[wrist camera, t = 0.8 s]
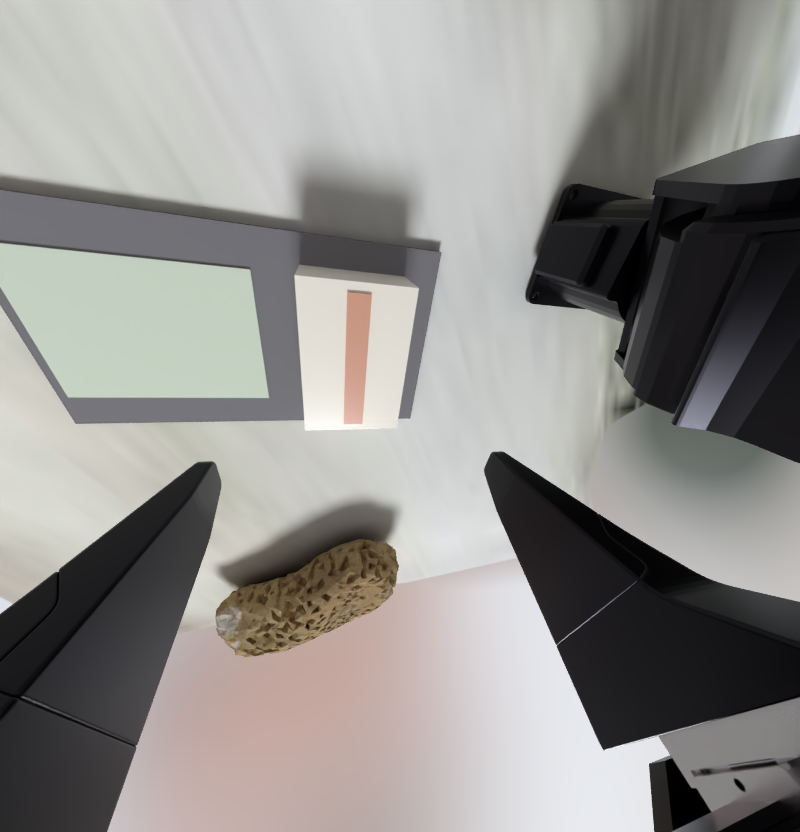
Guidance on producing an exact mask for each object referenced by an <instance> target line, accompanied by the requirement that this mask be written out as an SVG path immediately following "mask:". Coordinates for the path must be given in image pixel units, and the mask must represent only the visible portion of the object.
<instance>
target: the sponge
mask: <svg viewBox="0 0 800 832" xmlns="http://www.w3.org/2000/svg"><path fill="white" fill-rule="evenodd" d="M398 567H399V565H398V563H397V560H396V552H395V550H394V549H393V548H392V547H391V546H390V545H388V544H386V543H384V542H381V541H379V540H372V541H371V540H365V539H357V540H354V541H350V542H347V543H344V544H341V545H338V546H336V547H333V548H332V549H330V550H329V551H328V552H324V553H322V554H320V555H318V556H316V557H315V558H314V559H313V560H312V561H311V562H309V563H307V564H306V565H305V566H304V567H303V568H302V569H300V570H299V571H297V572H294V573H290V574H287V576H286V577H281V578H280V577H278V578H276V579H274V580H270V581H267V582H263V583H259V584H249V585H246V586H243V587H242V588H240V589H238V590H237V591H233V592H232V593H231V594H230V596H229V597H228V598H227V599H225V600H224V601H223V602H222V603H221V604H220V606H219V607H218V608H217V610H216V623H217V632H218V635H219V636H220V637H221V638H223V639H224V640H225V643H226V644H227V645H228V646H230V647H231V648H233V649H234V650H235V654H236V655H241V656H244V657H252V656H259V655H264V654H265V653H276V652H282V651H286V650H288V649H291V648H293V647H295V646H297V645H300V644H302V643H305V642H307V641H309V640H312V639H314V638H316V637H318V636H320V635H322V634H323V633H325V632H329V631H331V630H333V629H335V628H337V627H340V626H341V625H343V624H345V623H347V622H349V621H351V620H353V619H354V618H355V617H358V618H359V617H361V616H362V615H365V614H368V613H370V612H372V611H373V610H375V609H376V608H378V607H379V606H380V605H381V604H382V603H383V602H384V601H386V600H387V599H388V598H389V597H390V596H391V595H392V594H393V590H392V587H395V584H396V579H397V578H396V575H397V571H398Z"/></svg>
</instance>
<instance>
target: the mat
mask: <svg viewBox="0 0 800 832" xmlns="http://www.w3.org/2000/svg"><path fill="white" fill-rule="evenodd" d="M440 257H441V252H438V251H431V250H424V249H417V248H410V247H402V246H395V245H388V244H381V243H374V242H367V241H360V240H353V239H346V238H339V237H332V236H325V235H318V234H311V233H304V232H297V231H290V230H283V229H276V228H268V227H261V226H254V225H247V224H240V223H233V222H226V221H219V220H212V219H205V218H198V217H191V216H184V215H177V214H170V213H163V212H156V211H149V210H142V209H135V208H127V207H120V206H113V205H106V204H99V203H92V202H85V201H78V200H71V199H64V198H57V197H50V196H43V195H36V194H29V193H22V192H15V191H8V190H1V189H0V305H1V307H2V308H3V310H4V311H5V313H6V314H7V316H8V318H9V319H10V321H11V322H12V324H13V326H14V327H15V329H16V330H17V332H18V333H19V335H20V337H21V338H22V340H23V341H24V343H25V344H26V346H27V348H28V349H29V351H30V352H31V354H32V356H33V357H34V359H35V360H36V362H37V363H38V365H39V367H40V368H41V370H42V371H43V373H44V374H45V376H46V378H47V379H48V381H49V382H50V384H51V385H52V387H53V389H54V390H55V392H56V393H57V395H58V397H59V398H60V400H61V401H62V403H63V404H64V406H65V408H66V409H67V411H68V412H69V414H70V415H71V417H72V419H73V420H74V422H75V423H76V424H89V423H151V422H214V421H276V420H304V407H303V393H302V378H301V364H300V349H299V335H298V321H297V306H296V292H295V277H294V275H295V273H296V270H297V268H298V266H299V265H308V266H316V267H325V268H334V269H343V270H351V271H360V272H369V273H378V274H386V275H395V276H404V277H406V278H407V279H408V280H410V281H411V282H412V283H413V284H415V285H416V286H417V287H418V288H419V292H418V298H417V304H416V310H415V317H414V323H413V329H412V335H411V342H410V348H409V354H408V360H407V367H406V373H405V379H404V386H403V392H402V398H401V404H400V411H399V417H398V419H401V418H410V416H411V411H412V405H413V400H414V395H415V389H416V384H417V379H418V373H419V368H420V363H421V358H422V352H423V347H424V342H425V336H426V331H427V326H428V320H429V315H430V310H431V304H432V299H433V294H434V289H435V283H436V278H437V273H438V267H439V262H440Z"/></svg>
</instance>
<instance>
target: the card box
mask: <svg viewBox="0 0 800 832" xmlns="http://www.w3.org/2000/svg"><path fill="white" fill-rule="evenodd" d="M294 277H295V292H296V306H297V321H298V335H299V349H300V364H301V378H302V393H303V407H304V422H305V430H340V429H380V428H397V423H398V417H399V411H400V404H401V398H402V392H403V386H404V379H405V373H406V367H407V360H408V354H409V348H410V342H411V335H412V329H413V323H414V317H415V310H416V304H417V298H418V292H419V288H418V287H417V286H416V285H415V284H413V283H412V282H411V281H410V280H408V279H407V278H406V277H404V276H395V275H386V274H378V273H369V272H360V271H351V270H343V269H334V268H325V267H316V266H308V265H299V266H298V268H297V270H296V273H295V275H294Z"/></svg>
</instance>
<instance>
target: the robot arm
mask: <svg viewBox="0 0 800 832" xmlns="http://www.w3.org/2000/svg"><path fill="white" fill-rule="evenodd" d="M572 191H573V192H574V195H573V197H572V199H571V198H570V195H571V193H572ZM652 195H655V198H654V199H641V198H637V197H633V196H629V195H624V194H620V193H616V192H612V191H608V190H603V189H599V188H595V187H591V186H587V185H582V184H570V185H569V186H567V187H566V188H565V190H564V192H563V194H562V196H561V199H560V202H559V205H558V208H557V210H556V213H555V216H554V219H553V221H552V224H551V226H550V228H549V231H548V234H547V237H546V239H545V242H544V245H543V248H542V250H541V253H540V256H539V259H538V261H537V264H536V267H535V271H534V274H533V277H532V279H531V282H530V285H529V288H528V290H527V293H526V300H527V302H530V303H532V304H540V305H550V306H560V307H570V308H580V309H588V310H591V311H593V312H596V313H599V314H601V315H604V316H607V317H609V318H612V319H615V320H617V321H620V322H623V323H625V324H624V328H623V332H622V336H621V341H620V345H619V349H618V350H616V353H615V357H614V360H615V361H616V362H617V363H618V364H619V366H620V367H621V368H622V369H623V372H624V377H625V378H626V380H627V381H628V382H629V384H630V385H631V386H632V387H633V388H634V391H633V394H634V395H635V396H636V397H637V398H639V399H641V400H642V401H644V402H646V403H647V404H649V405H651V406H653V407H655V408H658V409H660V410H662V411H665V412H668V413H671V414H674V417H673V419H672V421H671V423H672V424H673V425H676V426H681V427H689V428H695V429H702V430H707V431H712V432H715V433H719V434H723V435H727V436H730V437H734V438H737V439H739V440H742V441H745V442H748V443H750V444H753V445H756V446H758V447H760V448H763V449H765V450H768V451H770V452H773V453H775V454H777V455H780V456H782V457H785V458H787V459H790V460H792V461H794V462H798V463H800V135H795V136H790V137H785V138H780V139H775V140H770V141H765V142H761V143H757V144H754V145H751V146H748V147H745V148H742V149H740V150H737V151H734V152H731V153H728V154H725V155H723V156H720V157H717V158H714V159H711V160H708V161H706V162H703V163H700V164H697V165H694V166H692V167H689V168H686V169H683V170H680V171H677V172H675V173H672V174H669V175H666V176H663V177H660V178H658V179H656V181H655V186H654V190H653V194H652ZM535 292H536V295H535V297H534V298H532V296H533V294H534V293H535ZM484 472H485V476H486V479H487V483H488V486H489V489H490V492H491V495H492V498H493V501H494V504H495V507H496V510H497V512H498V515H499V517H500V519H501V522H502V524H503V526H504V528H505V531H506V533H507V535H508V537H509V540H510V542H511V544H512V546H513V549H514V551H515V553H516V555H517V558H518V560H519V562H520V565H521V567H522V569H523V571H524V574H525V575H526V578H527V580H528V583H529V585H530V587H531V589H532V591H533V594H534V596H535V598H536V601H537V603H538V605H539V607H540V610H541V612H542V614H543V616H544V619H545V621H546V623H547V625H548V628H549V630H550V632H551V634H552V637H553V639H554V641H555V643H556V645H557V648H558V651H559V653H560V655H561V657H562V660H563V662H564V664H565V666H566V669H567V671H568V673H569V675H570V678H571V680H572V682H573V684H574V687H575V689H576V691H577V693H578V696H579V698H580V700H581V702H582V705H583V707H584V709H585V712H586V714H587V716H588V718H589V720H590V723H591V725H592V727H593V730H594V732H595V734H596V736H597V738H598V741H599V743H600V744H601V746H602V748H603V750H604V751H605V750H609V749H612V748H616V747H620V746H623V745H627V744H631V743H634V742H638V741H641V740H645V739H649V738H653V737H656V736H659V738H660V739H661V741H662V742H663V744H664V746H665V747H666V749H667V750H668V752H669V754H670V756H667V757H665V758H662V759H660V760H657V761H655V762H652V763H650V764H649V769H650V782H651V795H652V808H653V820H654V831H655V832H800V602H797V601H793V600H788V599H784V598H780V597H776V596H771V595H767V594H762V593H758V592H753V591H750V590H745V589H741V588H737V587H732V586H728V585H725V584H722V583H718V582H716V581H713V580H710V579H708V578H706V577H704V576H702V575H700V574H698V573H696V572H694V571H692V570H691V569H689V568H687V567H685V566H684V565H682V564H680V563H679V562H677V561H675V560H673V559H672V558H670V557H668V556H667V555H665V554H663V553H661V552H659V551H658V550H656V549H655V548H653V547H651V546H649V545H648V544H646V543H644V542H643V541H641V540H639V539H638V538H636V537H634V536H633V535H631V534H629V533H628V532H626V531H624V530H623V529H621V528H620V527H618V526H617V525H615V524H613V523H612V522H610V521H609V520H607V519H606V518H604V517H603V516H601V515H600V514H597V513H596V512H595V511H593V510H592V509H590V508H589V507H587V506H586V505H584V504H583V503H581V502H580V501H578V500H577V499H575V498H574V497H572V496H570V495H569V494H567V493H566V492H564V491H563V490H561V489H560V488H558V487H557V486H555V485H554V484H552V483H551V482H549V481H547V480H546V479H544V478H543V477H541V476H540V475H538V474H537V473H535V472H534V471H532V470H531V469H529V468H528V467H526V466H525V465H523V464H521V463H520V462H518V461H517V460H515V459H514V458H512V457H511V456H509V455H508V454H506V453H505V452H492V453H491V454H490V456H489V459H488V461H487V463H486V466H485V469H484ZM220 491H221V479H220V476H219V473H218V469H217V466H216V464H215V463H214V462H212V461H209V462H197V463H196V464H194V465H193V466H192V467H190V468H189V469H188V470H186V471H185V472H184V473H183V474H181V475H180V476H179V477H177V478H176V479H175V480H174V481H172V482H171V483H170V484H168V485H167V486H166V487H164V488H163V489H162V490H161V491H159V492H158V493H157V494H155V495H154V496H153V497H152V498H150V499H149V500H148V501H146V502H145V503H144V504H143V505H141V506H140V507H139V508H137V509H136V510H135V511H134V512H132V513H131V514H130V515H128V516H127V517H126V518H125V519H123V520H122V521H121V522H119V523H118V524H117V525H115V526H114V527H113V528H112V529H110V530H109V531H108V532H106V533H105V534H104V535H103V536H101V537H100V538H99V539H97V540H96V541H95V542H94V543H92V544H91V545H90V546H88V547H87V548H86V549H85V550H83V551H82V552H81V553H79V554H78V555H77V556H76V557H74V558H73V559H72V560H70V561H69V562H68V563H66V564H65V565H64V566H63V567H61V568H60V569H59V572H55V573H53V574H52V575H51V576H50V577H48V578H47V579H46V580H44V581H43V582H42V583H40V584H39V585H38V586H37V587H35V588H34V589H33V590H31V591H30V592H29V593H27V594H26V595H25V596H23V597H22V598H21V599H19V600H18V601H17V602H15V603H14V604H13V605H11V606H10V607H9V608H7V609H6V610H5V611H4V612H2V613H1V614H0V832H107V830H108V827H109V825H110V821H111V819H112V816H113V813H114V810H115V808H116V804H117V801H118V799H119V796H120V793H121V790H122V788H123V785H124V782H125V779H126V776H127V773H128V770H129V767H130V765H131V762H132V759H133V756H134V753H135V751H136V745H137V744H138V742H139V738H140V736H141V733H142V730H143V727H144V724H145V722H146V719H147V716H148V713H149V710H150V707H151V704H152V702H153V699H154V696H155V693H156V690H157V687H158V685H159V682H160V679H161V676H162V673H163V670H164V668H165V665H166V662H167V659H168V656H169V653H170V650H171V648H172V645H173V642H174V639H175V636H176V633H177V631H178V628H179V625H180V622H181V619H182V616H183V614H184V611H185V608H186V605H187V602H188V599H189V597H190V594H191V591H192V588H193V585H194V582H195V579H196V577H197V574H198V571H199V568H200V565H201V562H202V560H203V557H204V554H205V551H206V548H207V545H208V542H209V539H210V535H211V531H212V527H213V522H214V518H215V513H216V509H217V504H218V500H219V495H220Z"/></svg>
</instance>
